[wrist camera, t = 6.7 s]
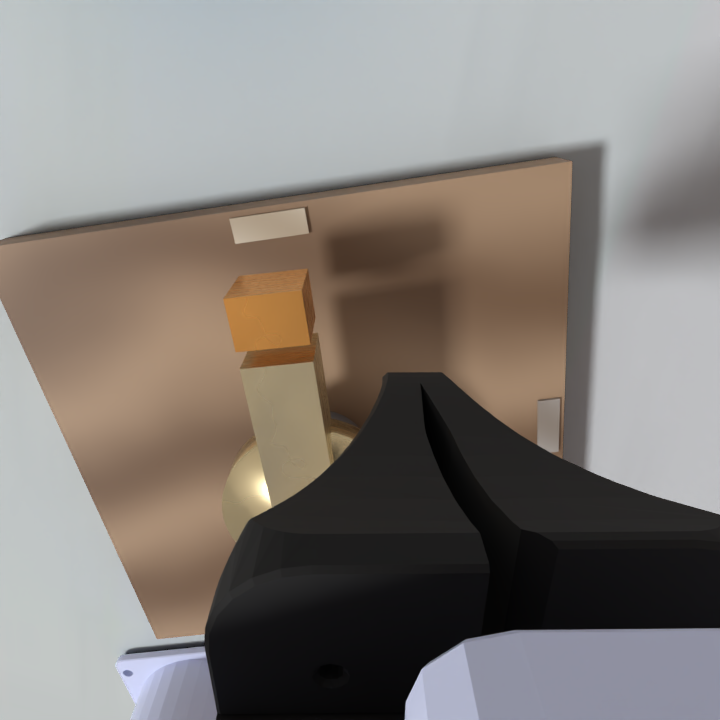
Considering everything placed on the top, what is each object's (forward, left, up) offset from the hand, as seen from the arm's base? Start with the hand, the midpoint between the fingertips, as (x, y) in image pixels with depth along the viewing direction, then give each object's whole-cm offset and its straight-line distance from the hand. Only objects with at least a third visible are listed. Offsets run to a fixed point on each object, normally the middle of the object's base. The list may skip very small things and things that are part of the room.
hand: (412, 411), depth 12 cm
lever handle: (-3, +4, -5) cm, 7 cm away
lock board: (-6, +4, -8) cm, 11 cm away
